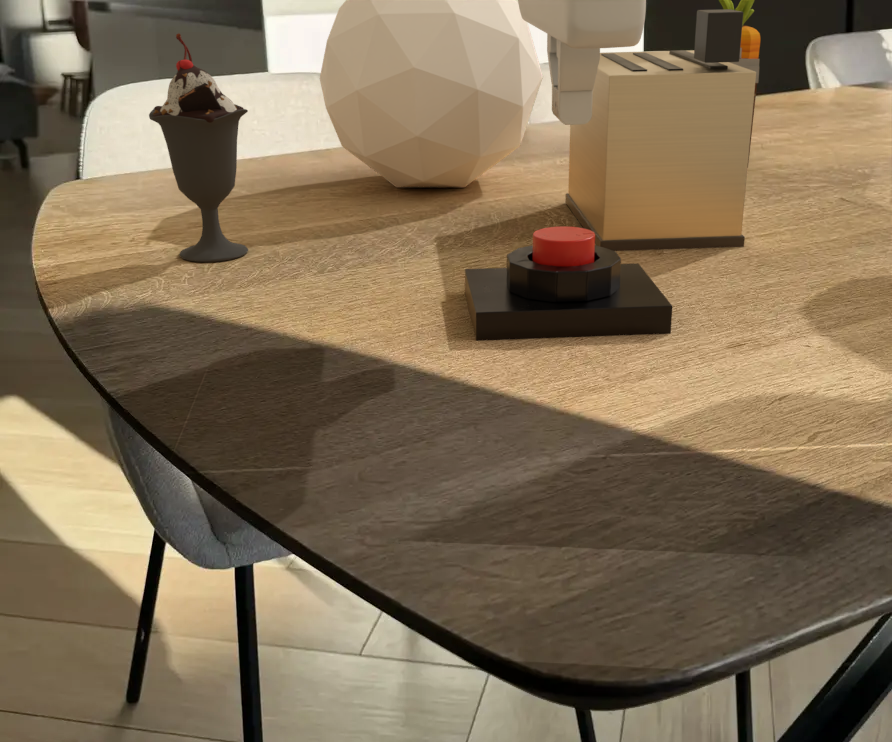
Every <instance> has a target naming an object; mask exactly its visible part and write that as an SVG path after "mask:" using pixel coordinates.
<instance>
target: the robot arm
mask: <svg viewBox="0 0 892 742" xmlns="http://www.w3.org/2000/svg"><path fill="white" fill-rule="evenodd" d="M517 2H518V4H519V9H520V13H521V16H522V19H523V20H524V21H526V22H527V23H528V24H529V25H531V26H533V27H534V28H537V29H538V30H540V31H542V32H543V33H545V34H546V52H547V60H548V67H549V68H548V69H549V76H550V82H551V112H552V114H553V115H554V116H555V117H556V118H557V119H558V121H559V122H560V123H561V124H563V125H565V126H570V125H578V124H586V123H588V122H589V121H590V120H591V117H592V95H593V88H594V83H595V79H596V74H597V69H598V65H599V60H600V53H601V49H611V48H612V49H613V48H630V47H631V48H632V47H635V46H637V45H638V44H639V43H640V41H641V39H642V35H643V31H644V27H645V21H646V13H647V12H646V11H647V0H517Z"/></svg>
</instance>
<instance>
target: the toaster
mask: <svg viewBox="0 0 892 742" xmlns="http://www.w3.org/2000/svg"><path fill="white" fill-rule="evenodd" d="M755 81H756V72H755V71H752V70H749V69H747V68H744V67H741V66H738V65H735V64H732V63H729V62H717V63H705V62H702V61H700V60H697V59H694V50H693V49H690V50H687V49H686V50H684V49H680V50H676V49H675V50H653V51H651V50H649V51H615V52H613V51H610V52H608V51H607V52H600V60H599V65H598V69H597V74H596V79H595V83H594V88H593V95H592V117H591V120H590V121H589V122H588V123H586V124H578V125H569V153H568V162H569V163H568V192H567V193H565V199H564V201H565V204H566V205H567V207H568V208H569V210H570V211H571V213H572V214H573V216H574V217H575V219H576V220H577V219H578V220H577V221H578V222H579V224H580V226H581V228H584V229H588V230H591V231H593V232H594V233H595V245H597V246H600V247H603V248H606V249H610V250H613V251H615V252H625V251H626V252H628V251H655V250H656V251H657V250H660V251H661V250H685V249H686V250H687V249H688V250H689V249H690V250H691V249H715V248H717V249H718V248H719V249H720V248H744V247H745V239H746V236H744V235H743V234H742V233H743V232H742V231H743V222H744V211H745V210H744V209H745V200H746V199H745V198H746V189H747V178H748V168H749V163H748V157H749V158H750V154H749V146H750V147H751V145H750V135H751V124H752V113H753V102H754V91H755ZM751 136H752V135H751Z"/></svg>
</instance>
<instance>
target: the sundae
mask: <svg viewBox="0 0 892 742" xmlns="http://www.w3.org/2000/svg"><path fill="white" fill-rule="evenodd" d="M175 36H176V37H175V38H176V40H178V42H179V43H180V44H181V45H182V46H183V48H184V55H183V59H179V60H178V61H177V62H176V63H175V67H176V70H177V71H176V73H175V75H173V77H172V78H171V79H170V81H169V84H168V89H167V99H166V100H165V102H164V103H163V104H162V105H155V106H154V107H153V109H152V110H150V112H149V114H148V118H149V119H150V121H153V122H155V123H157V124H158V125H159V126H160V129H161V132H162V134H163V137H164V138H163V139H164V140H165V143H166V148H167V151H168V152H167V153H168V156H169V160H170V164H171V169H172V173H173V176H174V178H175V179H174V180H175V182H176V185H177V187H178V190H179V191H180V192H181V193H182V194H183V195H184V196H185V198H187V199H188V200H189V201H191V202H192V203H194V204H195V206H197V207H198V208H199V209H200V213H201V214H200V215H201V221H202V223H201V225H202V226H201V227H202V228H201V229H202V230H201V235H200V237H199V240H198V241H197V243H196V244H194V245H191V246H188V247H186V248H184V249H182V250H181V251H180V252H179V254H178V256H179V257H180V258H181V259H182V260H185V261H188V262H194V263H195V262H196V263H218V262H225V261H229V260H235V259H238V258H242V257H244V256H246V255H247V253H248V252H249V248H248V247H247V246H246V245H245V244H241V243H237V242H232V241H230V240H229V239H228V238H226V236H225V235H224V233H223V230H222V228H221V224H220V219H219V206H220V205H221V203H223V201H224V200H225V199H227V198H228V197H229V195H230V194H231V192H232V191H233V189H234V188H235V185H236V177H237V168H238V166H237V165H238V163H237V161H238V136H239V126H240V125H239V124H240V120H241V118H242V117H243V116H244V115H246V114H247V113H248V111H249V110H248V109H246V108H244V107H243V106H241V105H238V104H235V103H234V102H233V101H232V100H231V99H230V98H229V97H228V96H226V95H225V94H224V93H223V92H222V91H221V89H220V88H219V87H218V84H217V83H216V79H214V78H213V76H212V75H211V74H210V73H209V72H208V71H206V70H205V69H202V68H200V67H198V66H195V65H194V64H193V59H192V54H191V52H190V50H189V48H188V46H187V45H186V43H185V41H184V40H183V39H182V36H181V33H179V32H178V33H176V35H175ZM187 57H188V58H187Z"/></svg>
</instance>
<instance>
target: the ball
mask: <svg viewBox="0 0 892 742" xmlns="http://www.w3.org/2000/svg"><path fill="white" fill-rule="evenodd" d="M325 43H326V44H325V49H324V50H325V51H324V54H323V59H322V65H321V69H320V74H319V83H320V87H321V91H322V97H323V101H324V106H325V109H326V112H327V114H328V116H329V119H330V121H331V123H332V126H333V128H334V131H335V133H336V136H337V138H338V141H339V142H340V145H341V147H342V148H344V149H345V150H346V151H347V152H349V153H350V154H351V155H353V156H354V157H356V158H357V159H358V160H359V161H361V162H362V163H364V164H365V165H366V166H367V167H368V168H370V169H371V170H373V171H374V172H375V173H377V174H378V175H379V176H381V177H382V178H383V179H385V180H386V181H388V182H389V183H390V184H392V185H393V186H394V187H395V188H426V189H427V188H436V189H437V188H440V189H441V188H443V189H445V188H446V189H449V188H451V189H453V188H455V189H457V188H458V189H459V188H463V189H464V188H466V187H467V186H468V185H470V184H471V183H472V182H474V181H475V180H477V179H478V178H479V177H481V176H483V174H485V173H486V172H487V171H489V170H490V169H491V168H493V167H494V166H496V165H497V164H499V162H501V161H503V160H504V159H505V158H507V157H508V156H509V155H510V154H512V153H513V152H514V151H516V150H517V149H518V148H520V147H521V145H522V142H523V139H524V136H525V133H526V130H527V127H528V123H529V121H530V119H531V114H532V112H533V108H534V106H535V102H536V99H537V96H538V93H539V90H540V88H541V85H542V83H543V78H544V75H543V71H542V67H541V64H540V61H539V58H538V54H537V51H536V47H535V44H534V41H533V37H532V34H531V31H530V26H529V23H528V22H526V21H524V20H523V19H522V16H521V13H520V9H519V4H518V0H345V1H344V2H343V3H342V4H341V5H340V6H339V8H338V10H337V13H336V16H335V18H334V21H333V23H332V26H331V29H330V32H329V34H328V36H327V38H326V42H325Z"/></svg>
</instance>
